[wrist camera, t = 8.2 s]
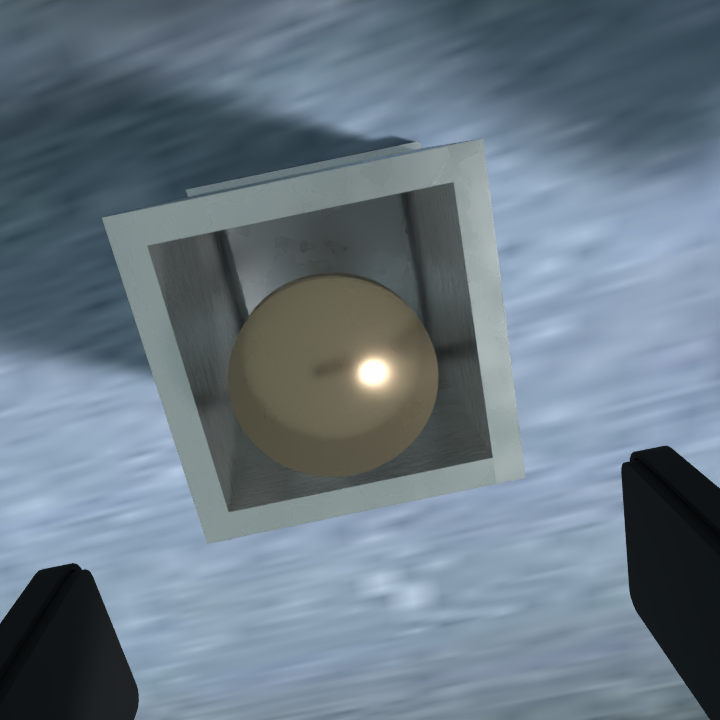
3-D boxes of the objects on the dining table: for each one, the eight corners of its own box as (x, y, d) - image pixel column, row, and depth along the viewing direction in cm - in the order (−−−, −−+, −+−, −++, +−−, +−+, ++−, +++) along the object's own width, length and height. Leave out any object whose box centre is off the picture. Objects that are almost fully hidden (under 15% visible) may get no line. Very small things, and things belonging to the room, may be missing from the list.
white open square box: (415, 141, 37) (493, 123, 21) (449, 356, 42) (536, 484, 25) (190, 188, 37) (86, 208, 21) (248, 397, 42) (200, 553, 25)
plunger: (393, 185, 35) (457, 204, 19) (421, 345, 38) (496, 480, 22) (226, 220, 35) (145, 268, 19) (267, 377, 38) (228, 536, 22)
